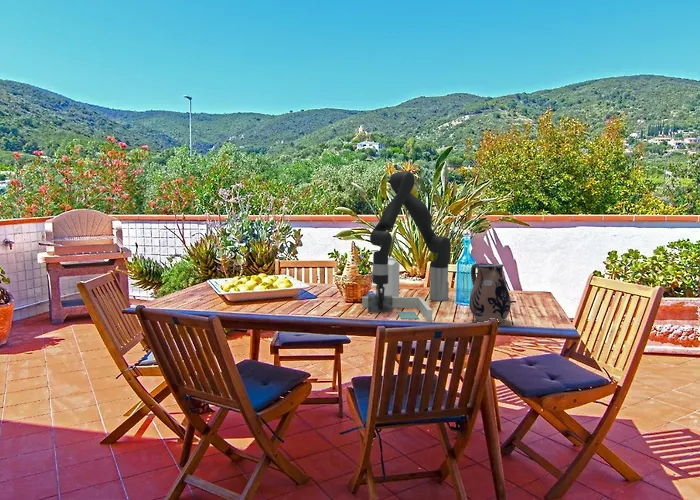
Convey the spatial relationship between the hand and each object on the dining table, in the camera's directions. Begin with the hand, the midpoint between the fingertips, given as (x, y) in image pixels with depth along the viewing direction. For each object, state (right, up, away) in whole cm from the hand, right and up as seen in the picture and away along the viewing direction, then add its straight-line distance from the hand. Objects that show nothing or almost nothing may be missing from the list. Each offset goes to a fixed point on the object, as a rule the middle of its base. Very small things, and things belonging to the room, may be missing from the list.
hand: (379, 307), depth 259 cm
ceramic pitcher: (+46, -4, -19) cm, 49 cm away
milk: (+7, +1, +28) cm, 29 cm away
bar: (0, -2, 0) cm, 2 cm away
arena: (+7, -2, -6) cm, 9 cm away
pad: (+12, -3, -10) cm, 16 cm away
